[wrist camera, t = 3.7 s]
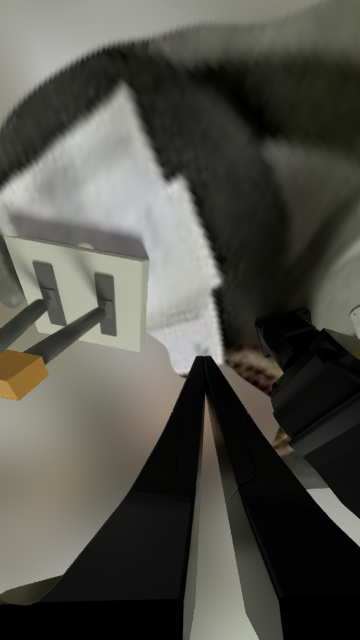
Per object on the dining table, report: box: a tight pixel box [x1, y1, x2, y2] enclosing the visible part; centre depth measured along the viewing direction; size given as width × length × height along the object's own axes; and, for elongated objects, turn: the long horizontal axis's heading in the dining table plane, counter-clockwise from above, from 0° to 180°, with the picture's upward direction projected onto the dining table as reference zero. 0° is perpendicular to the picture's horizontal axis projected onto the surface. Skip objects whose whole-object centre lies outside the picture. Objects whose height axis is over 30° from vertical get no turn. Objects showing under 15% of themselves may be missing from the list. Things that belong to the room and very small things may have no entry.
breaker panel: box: [0, 236, 149, 353], centre depth 15 cm, size 16×13×14 cm
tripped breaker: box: [0, 307, 107, 401], centre depth 13 cm, size 2×2×11 cm
